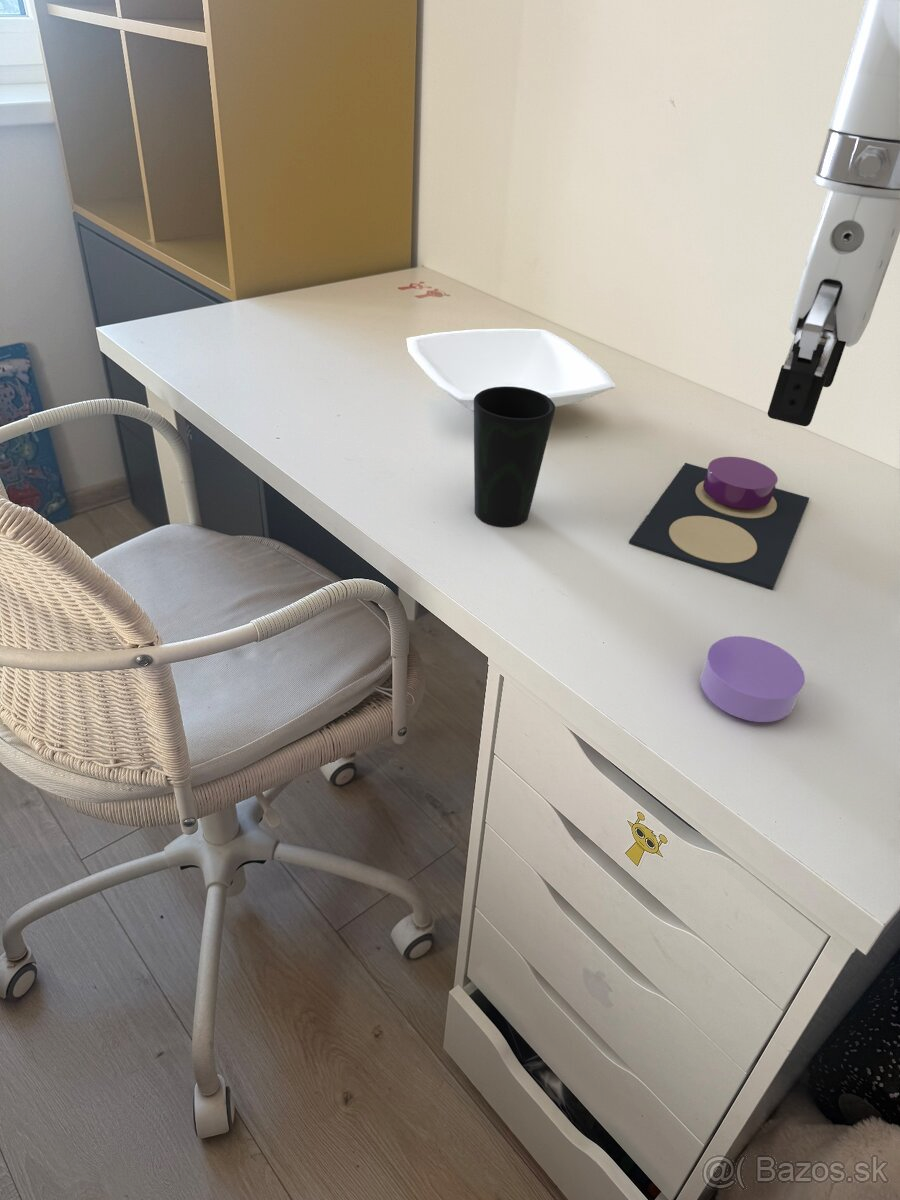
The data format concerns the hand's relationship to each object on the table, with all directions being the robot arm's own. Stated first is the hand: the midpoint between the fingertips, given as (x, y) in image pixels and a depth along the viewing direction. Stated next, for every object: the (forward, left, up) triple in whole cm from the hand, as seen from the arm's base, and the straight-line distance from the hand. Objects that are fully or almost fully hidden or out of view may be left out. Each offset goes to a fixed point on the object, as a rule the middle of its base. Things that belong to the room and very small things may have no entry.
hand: (800, 400), depth 67 cm
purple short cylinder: (+4, -15, -17) cm, 23 cm away
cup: (+24, +2, -18) cm, 30 cm away
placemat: (+4, -10, -18) cm, 21 cm away
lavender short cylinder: (-4, +16, -18) cm, 24 cm away
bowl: (+36, -23, -18) cm, 46 cm away
